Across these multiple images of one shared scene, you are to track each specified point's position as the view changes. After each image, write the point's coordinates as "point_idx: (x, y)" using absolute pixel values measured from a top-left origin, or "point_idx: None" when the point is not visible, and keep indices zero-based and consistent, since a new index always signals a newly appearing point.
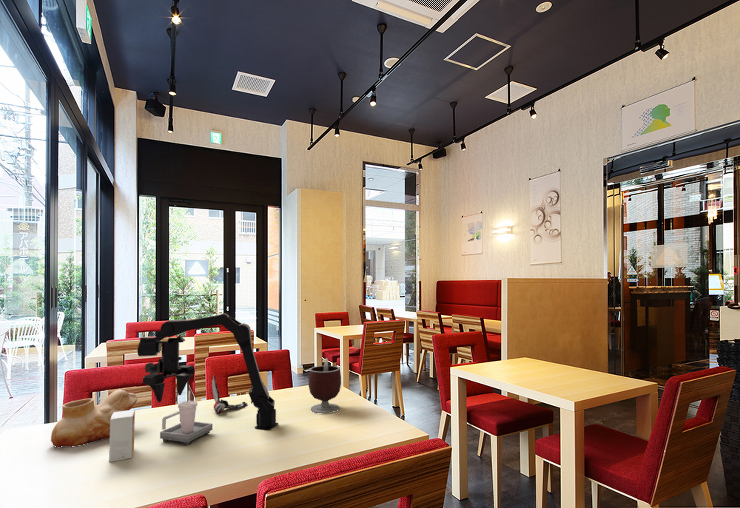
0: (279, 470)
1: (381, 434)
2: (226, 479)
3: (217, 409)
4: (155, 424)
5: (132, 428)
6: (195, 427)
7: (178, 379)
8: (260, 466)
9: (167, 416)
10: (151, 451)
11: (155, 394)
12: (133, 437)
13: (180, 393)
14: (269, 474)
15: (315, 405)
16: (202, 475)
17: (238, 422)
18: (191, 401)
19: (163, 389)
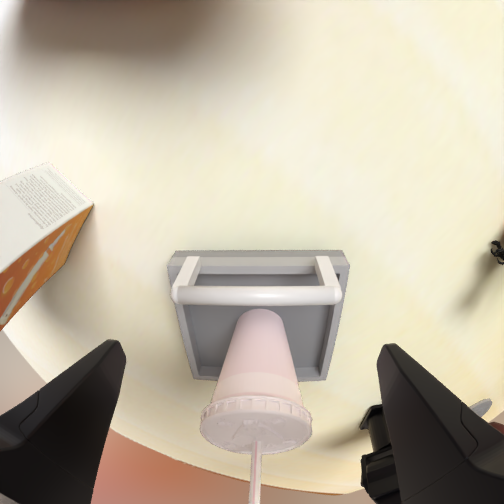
0: (205, 468)
1: (348, 484)
2: (147, 442)
3: (499, 263)
4: (358, 28)
5: (9, 320)
6: (307, 326)
7: (461, 485)
8: (202, 458)
9: (200, 304)
10: (117, 279)
11: (52, 390)
12: (45, 263)
13: (380, 378)
14: (190, 464)
15: (486, 402)
16: (131, 421)
17: (422, 352)
18: (299, 431)
19: (91, 479)
